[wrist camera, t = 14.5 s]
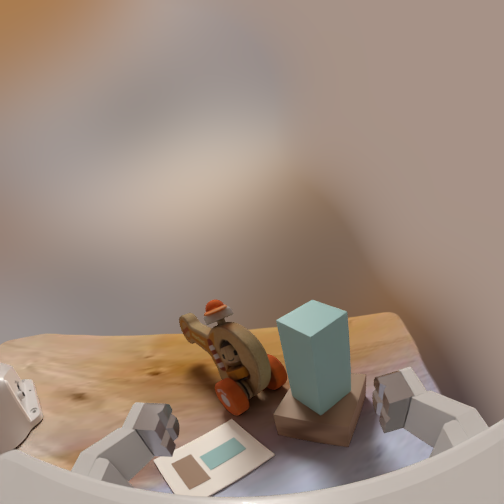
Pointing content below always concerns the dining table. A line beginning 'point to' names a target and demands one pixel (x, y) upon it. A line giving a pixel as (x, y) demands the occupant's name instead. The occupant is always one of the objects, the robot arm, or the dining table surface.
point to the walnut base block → (322, 417)
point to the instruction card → (213, 461)
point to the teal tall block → (316, 354)
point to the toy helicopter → (234, 357)
